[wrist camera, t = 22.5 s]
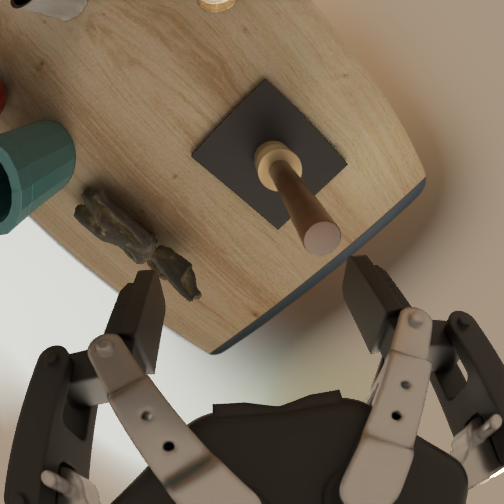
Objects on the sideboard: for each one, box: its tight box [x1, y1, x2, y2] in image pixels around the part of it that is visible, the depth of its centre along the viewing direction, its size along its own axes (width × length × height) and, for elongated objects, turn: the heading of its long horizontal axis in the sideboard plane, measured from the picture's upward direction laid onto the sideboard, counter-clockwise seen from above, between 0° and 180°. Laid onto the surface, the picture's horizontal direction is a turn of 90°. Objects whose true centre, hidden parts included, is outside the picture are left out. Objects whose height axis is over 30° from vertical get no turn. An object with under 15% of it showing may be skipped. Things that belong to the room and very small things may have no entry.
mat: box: [191, 79, 348, 229], centre depth 32 cm, size 14×12×1 cm
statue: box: [74, 188, 202, 302], centre depth 34 cm, size 6×6×20 cm
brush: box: [254, 141, 341, 256], centre depth 24 cm, size 4×4×19 cm
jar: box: [0, 120, 76, 235], centre depth 24 cm, size 10×10×12 cm
